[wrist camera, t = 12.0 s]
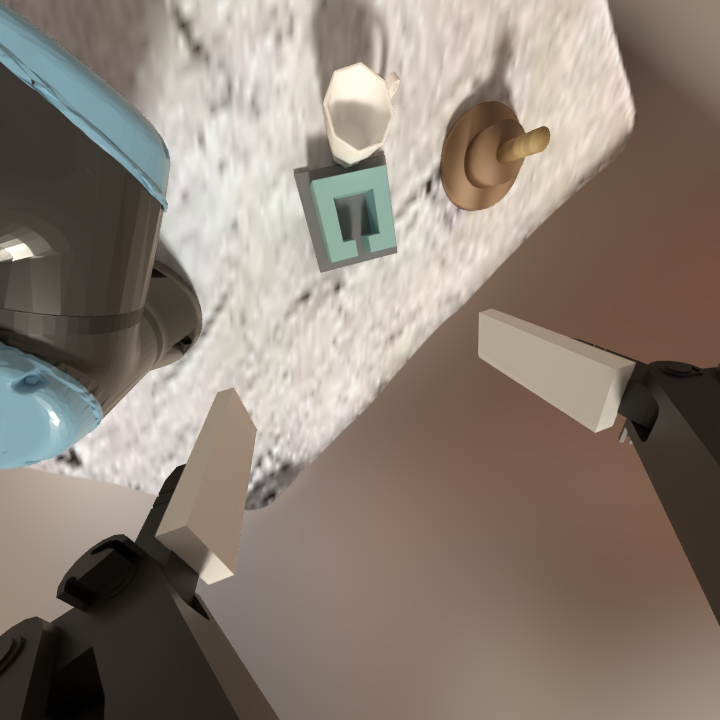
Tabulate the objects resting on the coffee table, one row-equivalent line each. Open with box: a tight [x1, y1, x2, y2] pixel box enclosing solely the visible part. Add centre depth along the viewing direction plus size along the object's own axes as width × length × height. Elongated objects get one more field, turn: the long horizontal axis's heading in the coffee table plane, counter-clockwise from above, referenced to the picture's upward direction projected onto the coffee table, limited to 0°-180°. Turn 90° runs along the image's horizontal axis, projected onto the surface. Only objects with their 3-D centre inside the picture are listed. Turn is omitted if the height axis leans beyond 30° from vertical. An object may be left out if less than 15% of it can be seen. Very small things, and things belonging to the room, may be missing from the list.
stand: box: [440, 101, 550, 211], centre depth 32 cm, size 12×12×10 cm
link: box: [310, 165, 396, 263], centre depth 34 cm, size 9×9×4 cm
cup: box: [323, 62, 400, 168], centre depth 28 cm, size 7×10×8 cm
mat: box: [294, 155, 397, 272], centre depth 36 cm, size 12×12×1 cm
